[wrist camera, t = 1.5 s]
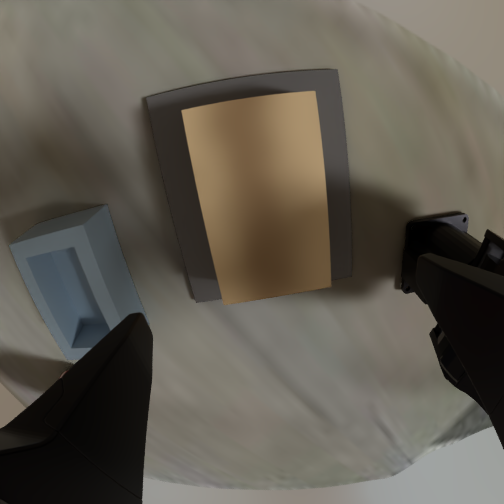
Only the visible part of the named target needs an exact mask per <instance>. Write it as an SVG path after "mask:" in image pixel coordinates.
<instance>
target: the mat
mask: <svg viewBox="0 0 504 504" xmlns="http://www.w3.org/2000/svg"><path fill="white" fill-rule="evenodd" d="M305 91H315V92H316V100H317V107H318V114H319V122H320V131H321V139H322V149H323V158H324V169H325V180H326V192H327V205H328V221H329V239H330V262H331V280H336V279H341V278H346V277H352V232H351V201H350V182H349V167H348V154H347V143H346V132H345V123H344V114H343V105H342V97H341V90H340V83H339V76H338V69H331V70H309V71H294V72H282V73H272V74H264V75H255V76H248V77H241V78H234V79H228V80H222V81H217V82H211V83H206V84H201V85H196V86H191V87H187V88H182V89H178V90H174V91H170V92H166V93H162V94H158V95H154V96H150V97H147V98H146V99H147V104H148V110H149V115H150V120H151V125H152V130H153V135H154V140H155V145H156V150H157V154H158V159H159V163H160V168H161V172H162V177H163V181H164V185H165V189H166V194H167V198H168V202H169V206H170V210H171V214H172V218H173V222H174V226H175V230H176V233H177V237H178V241H179V245H180V248H181V252H182V256H183V259H184V263H185V266H186V270H187V273H188V277H189V280H190V284H191V287H192V291H193V294H194V297H195V301H196V303H198V302H205V301H211V300H218V299H222V296H221V291H220V287H219V283H218V279H217V275H216V271H215V267H214V262H213V258H212V254H211V250H210V245H209V241H208V237H207V232H206V228H205V223H204V219H203V214H202V210H201V205H200V201H199V196H198V191H197V187H196V182H195V177H194V172H193V167H192V162H191V158H190V153H189V147H188V142H187V137H186V132H185V127H184V122H183V116H182V111H181V110H185V109H189V108H194V107H199V106H204V105H209V104H214V103H220V102H225V101H231V100H237V99H244V98H251V97H258V96H266V95H274V94H283V93H293V92H305Z"/></svg>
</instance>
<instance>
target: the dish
mask: <svg viewBox="0 0 504 504" xmlns="http://www.w3.org/2000/svg"><path fill="white" fill-rule="evenodd" d="M9 247H10V249H11V252H12V254H13V257H14V259H15V261H16V264H17V266H18V269H19V271H20V273H21V275H22V278H23V280H24V282H25V284H26V286H27V288H28V290H29V292H30V295H31V297H32V299H33V301H34V303H35V305H36V306H37V308H38V310H39V312H40V314H41V316H42V318H43V320H44V321H45V323H46V325H47V327H48V329H49V330H50V332H51V334H52V336H53V337H54V339H55V341H56V342H57V344H58V346H59V347H60V349H61V351H62V352H63V354H64V355H65V357H66V359H67V360H77V359H81V358H82V357H83V356H84V355H85V354H86V353H87V352H88V351H89V350H90V349H91V348H93V347H94V346H95V345H96V344H97V343H98V342H99V341H100V340H101V339H102V338H103V337H104V336H106V335H107V334H108V333H109V332H110V331H111V330H112V329H113V328H114V327H115V326H117V325H118V324H119V323H120V322H121V321H122V320H123V319H124V318H125V317H126V316H128V315H129V314H131V313H137V312H141V313H143V314H144V316H145V318H146V321H147V323H148V325H149V321H148V319H147V317H146V314H145V312H144V309H143V307H142V304H141V302H140V299H139V297H138V294H137V292H136V289H135V286H134V284H133V281H132V278H131V276H130V273H129V270H128V267H127V265H126V262H125V259H124V256H123V253H122V250H121V247H120V244H119V241H118V238H117V235H116V232H115V229H114V226H113V222H112V219H111V216H110V213H109V209H108V206H107V204H105V205H101V206H98V207H94V208H90V209H86V210H83V211H79V212H75V213H72V214H68V215H65V216H61V217H58V218H54V219H51V220H48V221H44V222H41V223H38V224H36V225H34V226H33V227H32V228H30V229H29V230H28V231H26V232H25V233H24V234H22V235H21V236H20V237H19V238H17V239H16V240H15V241H14V242H12V243H11V244H10V245H9Z"/></svg>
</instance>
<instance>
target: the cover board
mask: <svg viewBox="0 0 504 504" xmlns="http://www.w3.org/2000/svg"><path fill="white" fill-rule="evenodd" d="M181 111H182V116H183V122H184V127H185V132H186V137H187V142H188V147H189V153H190V158H191V162H192V167H193V172H194V177H195V182H196V187H197V191H198V196H199V201H200V205H201V210H202V214H203V219H204V223H205V228H206V232H207V237H208V241H209V245H210V250H211V254H212V258H213V262H214V267H215V271H216V275H217V279H218V283H219V287H220V291H221V296H222V300H223V304H224V305H228V304H234V303H241V302H247V301H253V300H260V299H266V298H272V297H278V296H283V295H289V294H295V293H300V292H306V291H312V290H317V289H322V288H328V287H331V262H330V239H329V221H328V205H327V192H326V180H325V169H324V158H323V149H322V139H321V131H320V122H319V114H318V107H317V100H316V92H315V91H305V92H293V93H283V94H274V95H266V96H258V97H251V98H244V99H237V100H231V101H225V102H220V103H214V104H209V105H204V106H199V107H194V108H189V109H185V110H181Z"/></svg>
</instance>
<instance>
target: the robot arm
mask: <svg viewBox="0 0 504 504" xmlns="http://www.w3.org/2000/svg"><path fill="white" fill-rule="evenodd" d="M463 218H464V219H463ZM468 220H469V218H468V215H467V214H465V213H458V214H451V215H445V216H438V217H432V218H426V219H419V220H413V221H410V222H409V223H408V224H407V226H406V240H405V249H404V251H403V263H402V274H401V277H402V284H401V290H402V291H403V292H404V293H405V294H408V293H412V292H415V293H416V294H417V295H418V297H419V298H420V299H421V300H422V301H423V303H425V304H428V306H429V308H430V310H431V312H432V314H433V316H434V318H435V319H436V321H437V325H436V327H435V328H433V329H432V331H431V332H430V334H429V335H430V337H431V340H432V343H433V346H434V349H435V352H436V355H437V358H438V361H439V364H440V367H441V369H442V372H443V374H444V377H445V378H446V379H447V380H449V382H450V383H451V384H453V385H454V386H455V387H456V388H458V389H459V390H461V391H463V392H465V393H466V394H468V395H469V396H470V397H471V398H473V399H474V400H475V401H476V402H477V403H478V404H479V405H480V406H481V407H482V408H483V409H484V410H485V412H486V413H487V414H488V415H489V417H490V420H491V422H492V424H493V426H494V428H495V430H496V433H497V435H498V437H499V440H500V442H501V444H502V446H503V449H504V239H503V238H501V237H500V236H498V235H496V234H495V233H493V232H492V231H490V230H488V229H487V230H486V233H485V235H484V236H485V238H484V240H483V242H482V243H481V242H479V241H478V240H476V239H475V238H474V237H472V236H471V235H469V234H468V233H467V228H468ZM412 226H414V228H413V229H412V230H411V228H412ZM406 287H408V288H406ZM152 357H153V335H152V332H151V329H150V327H149V325H148V323H147V321H146V318H145V316H144V314H143V313H141V312H137V313H131V314H129V315H128V316H126V317H125V318H124V319H123V320H122V321H121V322H120V323H119V324H118V325H117V326H115V327H114V328H113V329H112V330H111V331H110V332H109V333H108V334H107V335H106V336H104V337H103V338H102V339H101V340H100V341H99V342H98V343H97V344H96V345H95V346H94V347H93V348H91V349H90V350H89V351H88V352H87V353H86V354H85V355H84V356H83V357H82V358H81V359H80V360H79V361H78V362H76V363H75V364H74V365H73V366H72V367H71V368H70V369H69V370H68V371H67V372H66V373H65V374H64V375H63V376H62V378H60V379H58V380H57V381H56V382H55V383H54V384H53V385H52V386H51V387H50V388H49V389H48V390H47V391H46V392H45V393H44V394H42V395H41V396H40V397H39V398H38V399H37V400H36V401H34V402H33V403H32V404H31V405H30V406H28V407H27V408H26V409H25V410H24V411H23V412H21V413H20V414H19V415H18V416H17V417H15V418H14V419H13V420H12V421H11V422H9V423H8V424H7V425H6V426H4V427H2V428H0V504H142V491H143V471H144V456H145V443H146V431H147V421H148V411H149V402H150V393H151V385H152Z"/></svg>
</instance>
